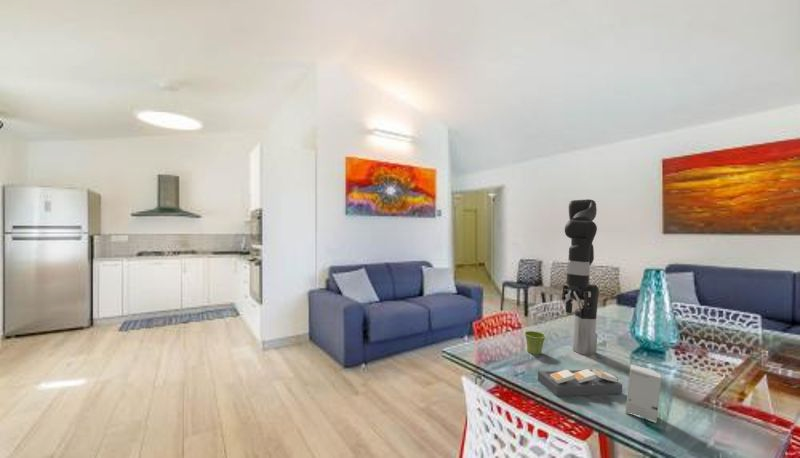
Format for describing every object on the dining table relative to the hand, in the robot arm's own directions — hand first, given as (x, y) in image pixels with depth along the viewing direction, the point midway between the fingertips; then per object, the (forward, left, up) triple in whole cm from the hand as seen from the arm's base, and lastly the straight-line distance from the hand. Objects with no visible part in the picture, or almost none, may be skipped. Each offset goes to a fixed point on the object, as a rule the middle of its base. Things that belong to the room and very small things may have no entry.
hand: (575, 315), depth 124 cm
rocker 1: (+7, +4, -22) cm, 23 cm away
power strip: (-5, +1, -27) cm, 27 cm away
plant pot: (-3, -32, -27) cm, 42 cm away
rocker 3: (-10, +4, -22) cm, 24 cm away
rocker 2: (-2, +4, -22) cm, 22 cm away
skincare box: (-10, +20, -27) cm, 35 cm away
